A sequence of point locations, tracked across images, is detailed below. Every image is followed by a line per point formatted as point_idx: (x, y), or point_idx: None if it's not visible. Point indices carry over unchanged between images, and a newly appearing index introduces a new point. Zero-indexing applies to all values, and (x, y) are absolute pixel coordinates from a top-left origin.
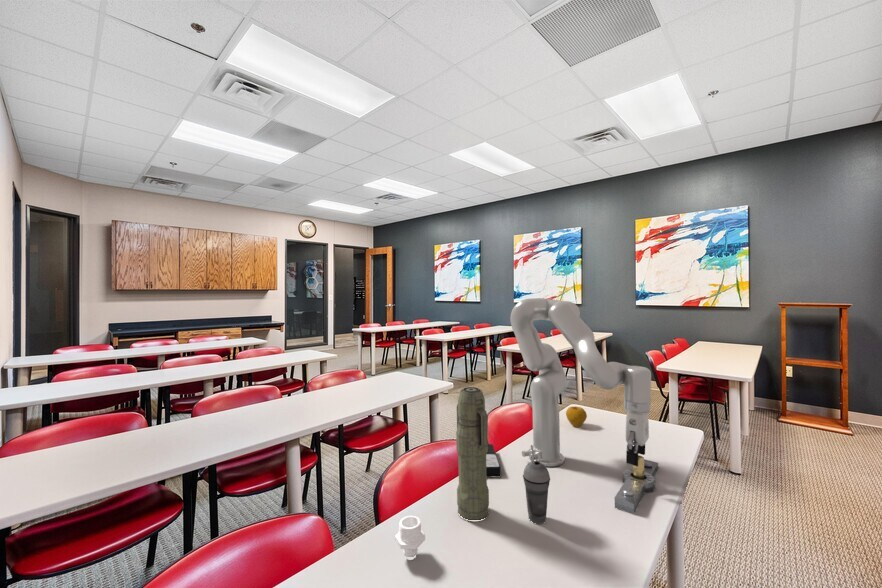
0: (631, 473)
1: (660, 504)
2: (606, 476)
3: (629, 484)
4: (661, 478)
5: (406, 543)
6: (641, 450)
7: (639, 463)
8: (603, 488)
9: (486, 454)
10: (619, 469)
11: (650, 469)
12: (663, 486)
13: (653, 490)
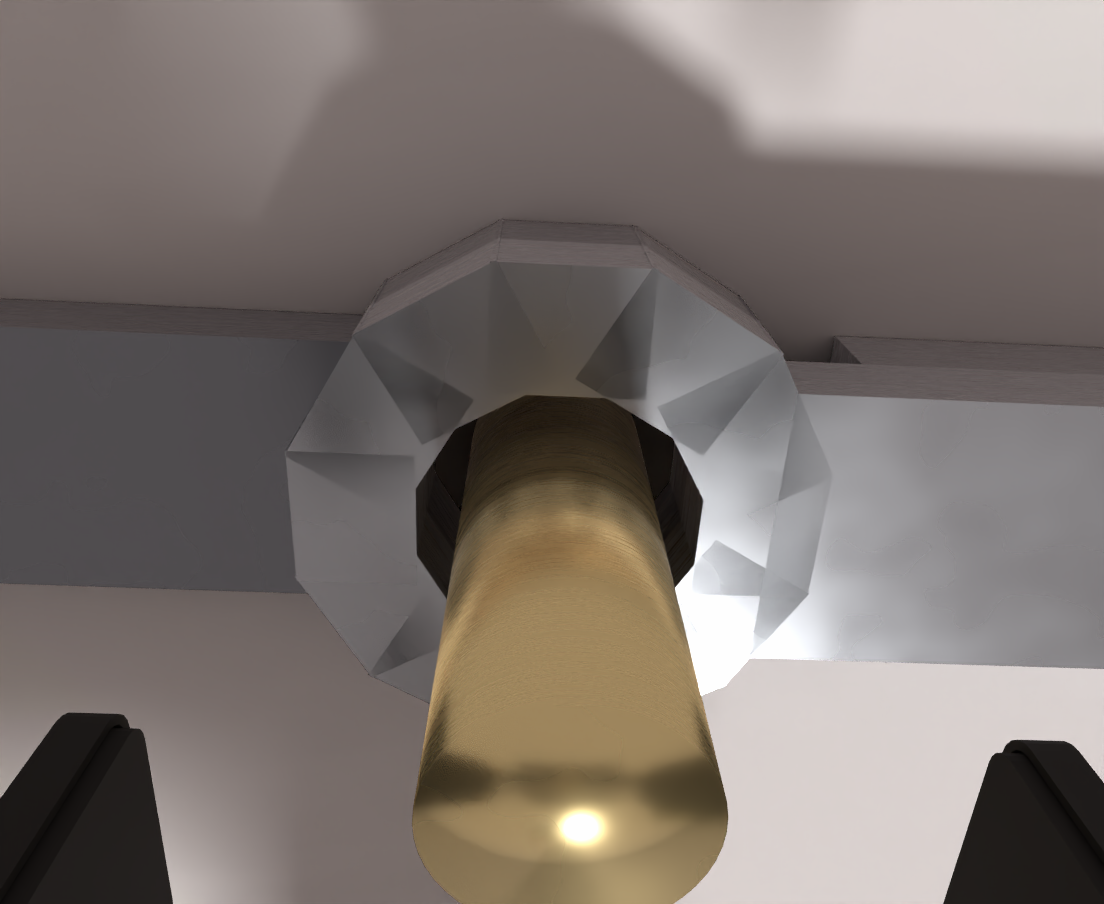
0: None
1: (1038, 60)
2: None
3: (982, 592)
4: (3, 166)
5: None
6: (95, 872)
7: (699, 699)
8: (903, 772)
9: None
10: (210, 735)
11: None
12: (314, 93)
13: (626, 228)
